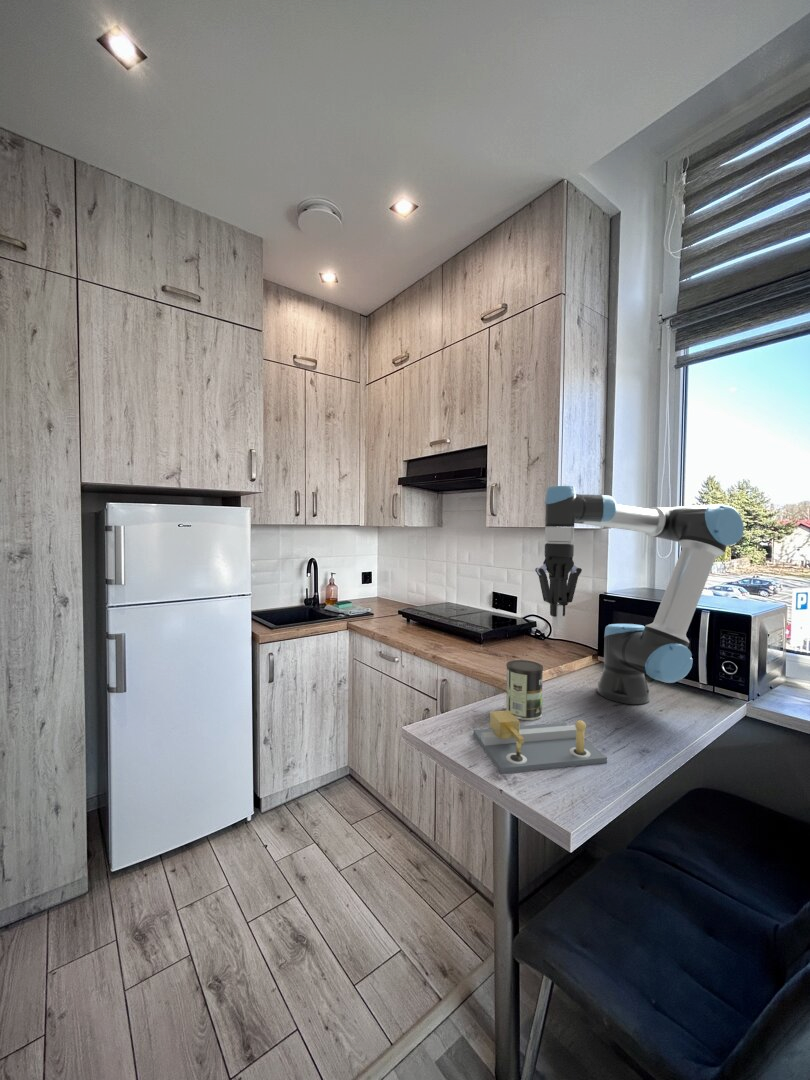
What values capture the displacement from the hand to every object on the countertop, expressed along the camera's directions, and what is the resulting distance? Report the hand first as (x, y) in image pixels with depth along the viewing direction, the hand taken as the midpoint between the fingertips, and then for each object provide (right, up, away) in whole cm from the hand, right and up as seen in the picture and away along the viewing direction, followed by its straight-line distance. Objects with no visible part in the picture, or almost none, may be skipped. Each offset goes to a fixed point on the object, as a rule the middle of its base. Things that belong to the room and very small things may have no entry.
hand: (557, 627), depth 119 cm
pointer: (-17, -25, -16) cm, 34 cm away
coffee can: (-7, -26, +7) cm, 28 cm away
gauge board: (-10, -27, -13) cm, 31 cm away
